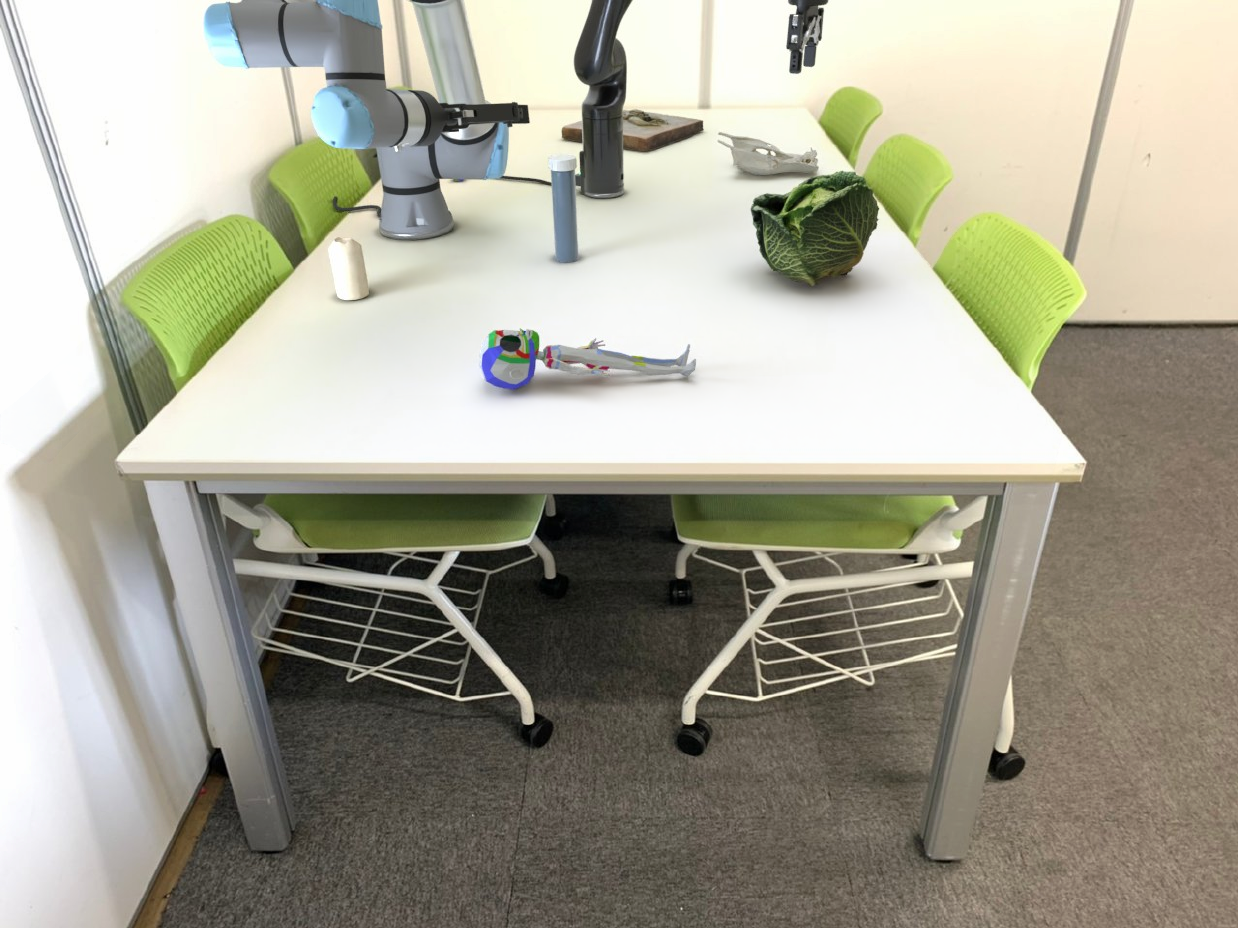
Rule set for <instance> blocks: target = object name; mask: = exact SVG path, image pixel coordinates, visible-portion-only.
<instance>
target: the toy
mask: <svg viewBox="0 0 1238 928" xmlns="http://www.w3.org/2000/svg"><path fill="white" fill-rule="evenodd" d="M601 343H603V344H601ZM605 346H606V343H605V344H604V340H603V339H602V340H599V341H597V338H596V337H595V338H594V339H593V340H591V341H590V342H589V344H588V345H584V346H583V345H582V346H579V347H572V346H567V345H562V344H552V345H551V344H550V345H546V346H545V347H544V348H543V349H542V351H540V335H539V333H538V332H537V331H535V330H533V329H530V328H526V329H525V330H524V329H522V328H519V330H513V329H499V330H497V329H494V330H493V331H491V332H490V333H488V335H487V336H486V338H485V339H484V340H483V343H482V344H481V346H480V351H479V363H478V367H479V369H480V372H481V374H482V378H483V379H484V381H485V382H486V383H488V384H490V385H492V386H493V387H497V388H501V389H504V390H514V391H515V390H516V389H519V388H522V387H525V386H526V385H528V384H529V383H530V382H531V380H532V379H533V378H534V376H535V373H536V367H537V366H536V363H537V360H538V361H542V363H543V364H544V366H545V368H547V369H549V370H559V371H561V372H567V373H569V374H572V375H576V376H588V375H594V376H599V377H604V378H607V379H609V376H611V377H612V376H613V375H612V374H611V373H607V372H610V370H619V371H621V370H622V371H634V372H637V373H642V374H644V375H648V376H667V375H674V374H680V375H681V376H684V377H689V376H690V375H691V374H692V373H693V372H694V371H696V367H697V366H696V365H697V359H696V358H694V359H693V360H692V361H691V362H690V363H688V360H689V359H688V358H689V355H690V350H691V344H690V343H688V344H687V345H686V349H685V351H684V352H683V353H682V354H681V355H680V356H678V357H677V358H671V359H670V358H656V357H655V358H654V357H646V356H639V355H629V354H626V353H623V352H618V351H612V350H606V349H601V348H599V347H605ZM687 363H688V364H687ZM576 364H577V365H578V364H582V365H583V366H586V367H583V366H576Z"/></svg>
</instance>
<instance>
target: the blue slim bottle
mask: <svg viewBox="0 0 1238 928" xmlns="http://www.w3.org/2000/svg"><path fill="white" fill-rule="evenodd" d="M575 175H576V169H574V170H571V171H563V172H560V171H552V170H550V178H551V179H550V180H551V181H550V182H551V184H552V186H551V201H552V217H553V218H552V219H553V237H554V257H555V261H557V262H559V263H573V262H577V261H578V260H579V233H578V211H577V210H578V209H577V189H576V188H577V186H576V183H575Z"/></svg>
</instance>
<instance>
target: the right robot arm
mask: <svg viewBox="0 0 1238 928" xmlns="http://www.w3.org/2000/svg"><path fill="white" fill-rule="evenodd" d="M633 1H634V0H591V2H590V6H589V10H588V12H587V16H586V19H585V21H584V25H583V28H582V31H581V33H580V35H579V38H578V42H577V44H576V47H575V50H574V54H573V69H574V72H575V75H576V77H577V79H578V80H579V82H581V83H582V84H583V85H586V86H589V87H588V91H587V93H586V96H585V97H584V99H583V100H582V103H581V109H580V112H581V121H582V140H583V142H582V150H580V151H579V153H578V156H579V172H578V173H575V183H576V187H580V195H585V196H587V197H589V198H595V199H612V198H617V197H620V196H622V195H624V193H625V187H624V186H625V183H624V181H625V174H624V173H625V172H624V148H623V110H624V107H625V103H626V99H627V82H628V81H627V79H628V78H627V76H628V61H627V54H626V50H625V47H624V45H623V43H622V42H621V41H620V39H618V38H617V35H618V31H619V27H620V25H621V22H622V20H623V18H624V16H625V14H626V13H627V11H628V10H629V7H630V6H631V4H632V3H633ZM787 3H788V4H789V5H790V6H796V9H795V13H790V14H789V16H788V26H787V35H786V45H785V47H786V50H788V51H789V53H790V57H789V69H788V71H789V73H790V74H793V75H799V74H801V73H802V68H803V67H805V68H813V67H815V65H816V57H817V48H818V46H819V43H820V42H821V41H822V39H823V25H824V13H825V8H824V7H821V6H825V5H827V4H829V0H787ZM802 65H803V66H802ZM372 158H378V156H377V152H376V153H375V154H373V156H372ZM499 179H500V180H501V179H502V180H511V181H522V182H532V183H539V184H543V185H546V186H551V187H552V184H551V181H547V180H544V179H540V178H533V177H522V176H511V175H503V176H502V177H501V178H499Z"/></svg>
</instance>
